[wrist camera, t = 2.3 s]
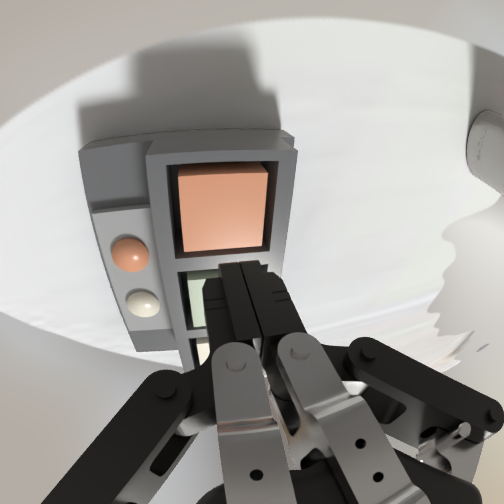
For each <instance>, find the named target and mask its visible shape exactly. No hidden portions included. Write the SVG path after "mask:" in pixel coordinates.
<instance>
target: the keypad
mask: <svg viewBox="0 0 504 504" xmlns="http://www.w3.org/2000/svg"><path fill="white" fill-rule="evenodd" d="M294 138H295V137H293V136H292V135H290V134H289V133H287V132H285V131H284V130H274V129H206V130H186V131H172V132H160V133H150V134H141V135H133V136H125V137H118V138H111V139H105V140H99V141H93V142H89V143H88V144H87V145H85V146H84V147H83V148H82V149H80V150H79V151H78V154H79V160H80V167H81V173H82V178H83V184H84V189H85V194H86V199H87V203H88V208H89V212H90V216H91V221H92V225H93V228H94V232H95V236H96V240H97V243H98V247H99V250H100V254H101V257H102V261H103V264H104V267H105V270H106V273H107V276H108V279H109V282H110V285H111V288H112V291H113V294H114V297H115V300H116V302H117V305H118V308H119V310H120V313H121V315H122V318H123V321H124V323H125V326H126V328H127V330H128V333H129V335H130V338H131V340H132V342H133V345H134V347H135V349H136V351H137V352H148V351H166V350H179V354H180V358H181V361H182V365H183V369H184V372H185V373H186V372H188V371H191V370H193V369H195V368H197V367H199V366H200V361H199V355H198V349H197V342H196V338H199V337H207V331H206V326H201V327H194V324H193V317H192V310H191V303H190V296H189V288H188V280H187V271H195V270H207V269H218V264H219V263H230V262H238V263H239V261H250V260H259V262H260V264H261V266H262V269H263V271H264V273H265V272H274V273H275V274H276V275H278V276H279V277H280V278H281V273H282V266H283V259H284V253H285V246H286V239H287V232H288V225H289V217H290V210H291V202H292V195H293V187H294V179H295V171H296V162H297V154H298V151H297V150H296V149H295V148H293V147H294ZM218 162H260V163H261V165H262V166H263V167H264V168H265V170H266V171H267V172H268V178H267V190H266V202H265V214H264V226H263V237H262V246H254V247H241V248H228V249H215V250H203V251H190V252H184V245H183V234H182V223H181V211H180V197H179V182H178V173H179V165H182V164H198V163H218Z"/></svg>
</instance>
